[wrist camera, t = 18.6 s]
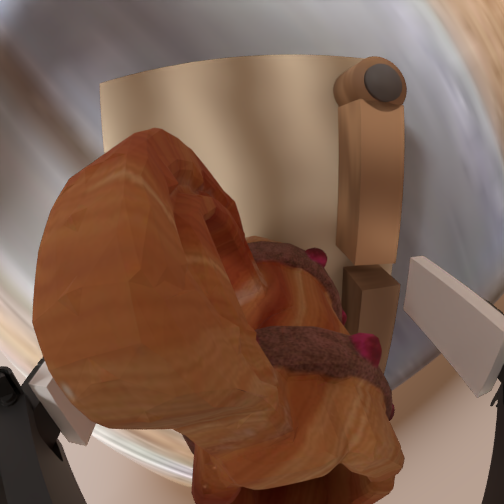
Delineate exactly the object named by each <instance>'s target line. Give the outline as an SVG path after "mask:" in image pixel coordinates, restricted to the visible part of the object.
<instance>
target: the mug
mask: <svg viewBox="0 0 504 504" xmlns="http://www.w3.org/2000/svg"><path fill="white" fill-rule="evenodd" d="M326 263H327V255H326V253H325V252H324V251H323V250H322V249H319V248H315V247H314V248H310V249H307V250H306V251H305V250H303V249H301V248H299V247H297V246H294V245H292V244H290V243H282V242H278V241H274V240H271V239H268V238H264V237H259V236H250V237H245V233H244V231H243V227H242V223H241V218H240V215H239V212H238V209H237V206H236V203H235V201H234V200H233V199H232V198H231V197H230V196H229V195H228V194H227V193H226V192H225V191H224V190H223V189H222V188H221V186H220V185H219V183H218V182H217V181H216V179H215V178H214V177H213V175H212V174H211V173H210V171H209V170H208V169H207V168H206V166H205V165H204V164H203V163H202V161H201V160H200V159H199V158H198V156H197V155H196V154H195V153H194V152H193V150H192V149H191V148H189V147H187V146H186V145H185V144H184V143H183V142H182V141H181V140H180V139H179V138H177V137H175V136H174V135H172V134H170V133H168V132H166V131H165V130H163V129H160V128H151V129H148V130H144V131H140V132H136V133H133V134H132V135H130V136H129V137H127V138H126V139H125V140H123V141H122V142H120V143H119V144H117V145H116V146H115V147H113V148H112V149H110V150H109V151H108V152H106V153H105V154H103V155H102V156H101V157H99V158H98V159H97V160H95V161H94V162H93V163H91V164H90V165H88V166H87V167H85V168H84V169H82V170H81V171H80V172H78V173H77V174H75V175H74V176H72V177H71V178H70V179H69V180H68V182H67V183H66V185H65V187H64V188H63V190H62V191H61V193H60V195H59V196H58V198H57V200H56V202H55V204H54V206H53V207H52V209H51V212H50V214H49V217H48V221H47V224H46V227H45V230H44V233H43V237H42V240H41V244H40V247H39V251H38V259H37V267H36V276H35V286H34V299H33V320H32V323H33V326H34V330H35V333H36V336H37V339H38V342H39V345H40V348H41V351H42V354H43V357H44V360H45V362H46V365H47V368H48V370H49V372H50V374H51V375H52V377H53V379H54V380H55V382H56V383H57V385H58V386H59V388H60V389H61V390H62V392H63V393H64V394H65V396H66V397H67V398H68V400H69V401H70V402H71V404H72V405H73V406H75V407H76V408H77V409H78V410H79V411H80V412H81V413H82V414H83V415H85V416H86V417H87V418H88V419H89V420H90V421H92V422H94V423H97V424H99V425H102V426H105V427H107V428H111V429H174V430H175V431H177V432H179V433H181V434H182V435H183V437H184V439H185V441H186V443H187V445H188V446H189V448H190V450H191V452H192V453H193V454H194V463H193V478H192V495H193V498H194V501H195V503H196V504H373V503H375V502H377V501H378V500H380V499H382V498H383V497H384V496H386V495H388V494H389V493H390V491H391V490H392V489H393V487H394V479H395V475H396V474H398V473H399V472H400V470H401V469H402V468H403V464H404V455H403V453H402V450H401V446H400V443H399V441H398V439H397V437H396V435H395V432H394V430H393V428H392V426H391V424H390V422H389V421H390V420H391V419H392V417H393V416H394V405H393V404H392V392H391V389H390V387H389V384H388V382H387V380H386V378H385V376H384V374H383V373H382V371H381V369H380V367H379V363H380V360H381V355H382V348H381V344H380V341H379V338H378V337H376V336H375V335H374V334H368V333H357V334H354V335H350V334H349V333H348V331H347V330H346V328H345V327H344V324H345V323H346V321H347V315H346V313H345V311H344V310H343V309H342V305H341V300H340V296H339V292H338V290H337V288H336V286H335V284H334V282H333V281H332V279H331V278H330V276H329V275H328V273H327V272H326V270H325V268H324V267H325V266H326Z"/></svg>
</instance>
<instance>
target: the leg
mask: <svg viewBox="0 0 504 504" xmlns="http://www.w3.org/2000/svg"><path fill="white" fill-rule="evenodd" d="M406 92H407V88H406V83H405V79H404V77H403V75H402V73H401V72H400V70H399V69H398V68H397V67H396V66H395V65H394V64H393V63H392V62H390V61H388V60H387V59H384V58H381V57H368V58H365V59H363V60H362V61H360V62H359V63H357V64H356V65H354V66H353V67H351V68H350V69H348V70H347V71H345V72H344V73H343V74H341V75H340V76H339V77H338V78H337V79H336V81H335V83H334V87H333V94H334V98H335V101H336V103H337V104H338V106H339V107H338V137H339V166H338V207H337V228H336V246H337V247H338V248H339V249H340V250H341V251H342V252H343V253H344V254H345V255H346V257H347V258H348V259H349V260H350V261H351V262H352V263H353V264H354V265H355V266H356V265H375V264H392V263H395V262H396V255H397V248H398V240H399V231H400V221H401V210H402V197H403V180H404V105H402V104H403V102H404V100H405V98H406Z"/></svg>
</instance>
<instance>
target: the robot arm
mask: <svg viewBox="0 0 504 504" xmlns="http://www.w3.org/2000/svg"><path fill="white" fill-rule="evenodd" d="M403 310H404V311H405V312H406V313H407V314H408V315H409V316H410V317H411V318H412V320H413V321H414V322H415V323H416V324H417V325H418V326H419V328H420V329H421V330H422V331H423V332H424V333H425V334H426V336H427V337H428V338H429V339H430V340H431V341H432V343H433V344H434V345H435V346H436V347H437V348H438V350H439V351H440V352H441V353H442V354H443V356H444V357H445V358H446V359H447V360H448V362H449V363H450V364H451V365H452V367H453V368H454V369H455V370H456V372H457V373H458V374H459V375H460V377H462V379H463V380H464V382H465V383H466V384H467V385H468V387H469V388H470V389H471V390H472V392H473V393H474V394H475V396H476V397H477V398H478V397H480V396H482V395H484V394H486V393H488V392H490V391H491V390H492V388H493V386H494V384H495V382H496V380H497V378H498V379H499V380H500V382H501V385H500V387H499V389H498V391H497V393H496V394H495V396H494V398H493V400H492V402H491V405H490V406H493V405H494V403H495V401H496V400H498V403H497V405H496V407H497V421H496V431H495V439H494V447H493V454H492V460H491V465H490V470H489V475H488V480H487V485H486V489H485V493H484V497H483V501H482V504H504V314H503V313H502V312H501V311H500V310H499V309H497V308H496V307H495V306H494V305H493V304H491V303H490V302H489V301H486V300H484V299H482V298H481V297H480V296H478V295H477V294H476V293H474V292H473V291H472V290H471V289H469V288H468V287H467V286H465V285H464V284H462V283H461V282H460V281H458V280H457V279H456V278H454V277H453V276H451V275H450V274H449V273H447V272H446V271H444V270H443V269H442V268H440V267H439V266H437V265H436V264H435V263H433V262H432V261H430V260H429V259H427V258H426V257H424V256H417V257H410V265H409V273H408V281H407V288H406V295H405V301H404V308H403ZM95 424H96V423H94V422H92V421H90V420H89V419H88V418H87V417H86V416H85V415H83V414H82V413H81V412H80V411H79V410H78V409H77V408H76V407H75V406H73V405H72V404H71V402H70V401H69V400H68V398H67V397H66V396H65V394H64V393H63V392H62V390H61V389H60V388H59V386H58V385H57V383H56V382H55V380H54V379H53V377H52V375H51V374H50V372H49V370H48V368H47V365H46V362H45V360H44V357H43V359H41V360H40V361H39V362H38V365H36V366H35V368H34V369H33V370H32V372H31V373H30V374H29V376H28V377H27V379H26V380H25V381H24V383H23V384H22V386H20V384H19V382H18V381H17V379H16V377H15V376H14V374H13V372H12V370H11V369H10V368H8V367H2V366H1V367H0V504H87V503H86V501H85V499H84V497H83V495H82V493H81V491H80V489H79V486H78V484H77V482H76V480H75V478H74V475H73V473H72V470H71V468H70V465H69V463H68V460H67V458H66V455H65V453H64V450H63V447H62V444H61V443H60V442H59V440H58V439H57V438H58V436H59V434H60V432H62V434H63V435H64V436H65V438H66V439H67V440H68V441H69V442H71V443H76V444H80V445H84V446H86V445H87V444H88V441H89V439H90V436H91V434H92V431H93V429H94V427H95Z"/></svg>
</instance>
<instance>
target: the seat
mask: <svg viewBox="0 0 504 504" xmlns="http://www.w3.org/2000/svg"><path fill="white" fill-rule="evenodd" d="M362 60H363V59H362V58H352V57H341V56H326V55H258V56H242V57H230V58H220V59H212V60H204V61H197V62H190V63H184V64H178V65H173V66H167V67H162V68H157V69H153V70H148V71H144V72H140V73H135V74H131V75H128V76H124V77H120V78H116V79H113V80H109V81H106V82H103V83H100V105H101V121H102V134H103V145H104V154H105V153H106V152H108V151H109V150H110V149H112V148H113V147H115V146H116V145H117V144H119V143H120V142H122V141H123V140H125V139H126V138H127V137H129V136H130V135H132V134H133V133H136V132H140V131H144V130H148V129H151V128H160V129H163V130H165V131H166V132H168V133H170V134H172V135H174V136H175V137H177V138H179V139H180V140H181V141H182V142H183V143H184V144H185V145H186V146H187V147H189V148H191V149H192V150H193V152H194V153H195V154H196V155H197V156H198V158H199V159H200V160H201V161H202V163H203V164H204V165H205V166H206V168H207V169H208V170H209V171H210V173H211V174H212V175H213V177H214V178H215V179H216V181H217V182H218V183H219V185H220V186H221V188H222V189H223V190H224V191H225V192H226V193H227V194H228V195H229V196H230V197H231V198H232V199H233V200H234V201H235V203H236V206H237V209H238V212H239V215H240V218H241V223H242V227H243V231H244V233H245V237H250V236H259V237H264V238H268V239H271V240H274V241H278V242H282V243H290V244H292V245H294V246H297V247H299V248H301V249H303V250H305V251H306V250H307V249H310V248H314V247H315V248H319V249H322V250H323V251H324V252H325V253H326V255H327V263H326V266H325V267H324V268H325V270H326V272H327V273H328V275H329V276H330V278H331V279H332V281H333V282H334V284H335V286H336V288H337V290H338V292H339V296H340V300H341V305H342V309H343V310H344V311H345V313H346V315H347V321H346V323H345V324H344V327H345V328H346V330H347V331H348V333H349V334H350V335H354V334H357V333H368V334H374V335H375V336H376V337H378V338H379V341H380V344H381V348H382V355H381V360H380V363H379V367H380V369H381V371H382V373H383V374H384V371H385V367H386V363H387V359H388V354H389V349H390V345H391V340H392V334H393V329H394V324H395V318H396V312H397V306H398V299H399V292H400V284H399V283H398V282H397V281H396V280H395V279H394V278H393V277H392V276H391V272H392V264H375V265H356V266H355V265H354V264H353V263H352V262H351V261H350V260H349V259H348V258H347V257H346V255H345V254H344V253H343V252H342V251H341V250H340V249H339V248H338V247H337V246H336V228H337V207H338V166H339V137H338V107H339V106H338V104H337V103H336V101H335V98H334V94H333V87H334V83H335V81H336V79H337V78H338V77H339V76H340V75H341V74H343V73H344V72H345V71H347V70H348V69H350V68H351V67H353V66H354V65H356V64H357V63H359V62H360V61H362Z"/></svg>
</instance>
